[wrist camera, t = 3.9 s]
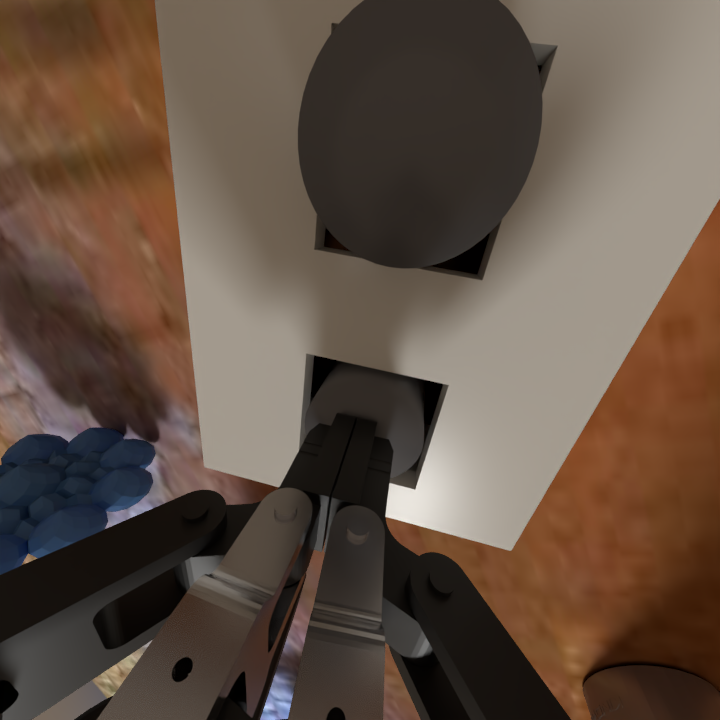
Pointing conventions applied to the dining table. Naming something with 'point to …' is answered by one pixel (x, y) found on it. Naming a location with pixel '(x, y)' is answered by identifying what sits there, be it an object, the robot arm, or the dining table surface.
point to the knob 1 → (419, 127)
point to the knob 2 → (375, 407)
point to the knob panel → (432, 284)
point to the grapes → (66, 489)
